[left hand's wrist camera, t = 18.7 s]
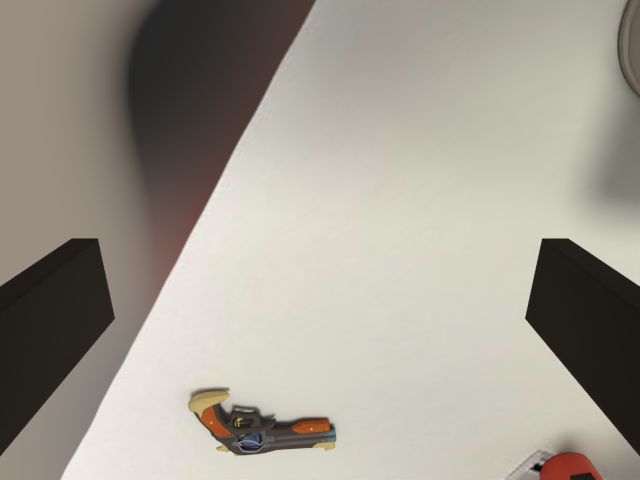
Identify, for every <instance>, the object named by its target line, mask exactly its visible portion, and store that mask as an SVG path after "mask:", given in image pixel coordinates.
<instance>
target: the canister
mask: <svg viewBox="0 0 640 480" xmlns="http://www.w3.org/2000/svg"><path fill="white" fill-rule="evenodd" d="M588 472H591V473H592V475H593V476H594V478H595V479H596V480H603V479H602V478H601V476H600V475H599V473H598V472H597V470H596V469H595V468H594V466H593V465H592V463H591V462H590V460H589V459H588V458H587V457H585V456H583V455H581V454H578V453H564V454H560V455H557V456H555V457H553V458H551V459H550V460H548V461H547V462H546V463H545V464H544V465H543V467H542V468H541V471H540V479H541V480H570V475H576V474H582V473H588Z"/></svg>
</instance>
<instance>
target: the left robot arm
mask: <svg viewBox="0 0 640 480" xmlns="http://www.w3.org/2000/svg"><path fill="white" fill-rule="evenodd" d="M619 56H620V62H621V66H622V70H623V73H624V75H625V77H626V79H627V81H628V83H629V84H630V86H631V87H632V89H633V90H634V91H635V92H636V93H637V94H638V95H639V96H640V0H630V1H629V3H628V6H627V8H626V11H625V14H624V17H623V20H622V25H621V29H620V36H619ZM114 319H115V317H114V312H113V307H112V303H111V298H110V293H109V289H108V284H107V279H106V275H105V270H104V265H103V261H102V256H101V251H100V246H99V242H98V239H70V240H69V241H67V242H66V243H64V244H63V245H62V246H60V247H58V248H57V249H55V250H54V251H53V252H51V253H50V254H48V255H46V256H45V257H43V258H42V259H41V260H39V261H38V262H36V263H35V264H33V265H32V266H30V267H29V268H27V269H26V270H24V271H23V272H21V273H20V274H18V275H17V276H15V277H14V278H12V279H11V280H9V281H8V282H6V283H5V284H3V285H2V286H0V456H1V455H2V454H3V452H4V451H5V450H6V449H7V447H8V446H9V445H10V444H11V443H12V442H13V440H14V439H15V438H16V437H17V436H18V434H19V433H20V432H21V431H22V429H23V428H24V427H25V426H26V425H27V424H28V422H29V421H30V420H31V419H32V417H33V416H34V415H35V414H36V413H37V412H38V410H39V409H40V408H41V407H42V405H43V404H44V403H45V402H46V401H47V399H48V398H49V397H50V396H51V395H52V393H53V392H54V391H55V390H56V389H57V387H58V386H59V385H60V384H61V383H62V381H63V380H64V379H65V378H66V377H67V375H68V374H69V373H70V372H71V371H72V369H73V368H74V367H75V366H76V365H77V363H78V362H79V361H80V360H81V359H82V357H83V356H84V355H85V354H86V353H87V351H88V350H89V349H90V348H91V347H92V345H93V344H94V343H95V342H96V341H97V339H98V338H99V337H100V336H101V335H102V333H103V332H104V331H105V330H106V329H107V327H108V326H109V325H110V324H111V323H112V321H113V320H114ZM525 319H526V320H527V321H528V323H529V324H530V325H531V326H532V327H533V329H534V330H535V331H536V332H537V333H538V335H539V336H540V337H541V338H542V339H543V341H544V342H545V343H546V344H547V345H548V347H549V348H550V349H551V350H552V351H553V353H554V354H555V355H556V356H557V357H558V359H559V360H560V361H561V362H562V363H563V365H564V366H565V367H566V368H567V369H568V371H569V372H570V373H571V374H572V375H573V377H574V378H575V379H576V380H577V381H578V383H579V384H580V385H581V386H582V387H583V389H584V390H585V391H586V392H587V393H588V395H589V396H590V397H591V398H592V399H593V401H594V402H595V403H596V404H597V406H598V407H599V408H600V409H601V410H602V412H603V413H604V414H605V415H606V416H607V418H608V419H609V420H610V421H611V422H612V424H613V425H614V426H615V427H616V428H617V430H618V431H619V432H620V433H621V434H622V436H623V437H624V438H625V439H626V440H627V442H628V443H629V444H630V445H631V446H632V448H633V449H634V450H635V451H636V452H637V454H638V455H639V456H640V286H638V285H637V284H635V283H634V282H632V281H631V280H629V279H628V278H626V277H625V276H623V275H622V274H620V273H619V272H617V271H616V270H614V269H613V268H611V267H610V266H608V265H607V264H605V263H604V262H602V261H601V260H599V259H598V258H596V257H595V256H594V255H592V254H591V253H589V252H588V251H586V250H585V249H583V248H582V247H580V246H579V245H577V244H576V243H574V242H573V241H571V240H570V239H542V242H541V246H540V251H539V256H538V261H537V265H536V270H535V275H534V279H533V284H532V289H531V293H530V298H529V303H528V307H527V312H526V317H525Z"/></svg>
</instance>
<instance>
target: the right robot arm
mask: <svg viewBox="0 0 640 480" xmlns="http://www.w3.org/2000/svg"><path fill="white" fill-rule="evenodd" d="M570 480H596V479H595V478H594V476H593V475H592V473H591V472H588V473H582V474H576V475H570Z"/></svg>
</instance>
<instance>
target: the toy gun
mask: <svg viewBox="0 0 640 480" xmlns="http://www.w3.org/2000/svg"><path fill="white" fill-rule="evenodd" d="M228 397H229V393H228V392H225V391H213V392H204V393H200V394H197V395H195V396H194V397H192V398H191V399H190V401H189V403H188V406H189V409H190V410H191V411H193V412H194V414H195V415H196V417H197V418H198V420H199V421H200V422H201V423H202V424H203V425H204V426H205V427H206V428H207V429H208V430H209V431H210V432H211V435H212V436H213V437H214V438H215V439H216V440H217V441H219V442H221V443H222V446H220V447H217V448H216V449H217V450H218V451H225V452H228V451H232V452H233V453H234V455H235V456H238V455H253V454H262V453H267V452H271V451H274V450H282V449H298V448H322V447H325V451H326V450H330V449H334V448H335V442H334V441H336V434H335V428H332V427H330V425H329V421H328V420H314V421H302V422H299V423H297V424H295V425H293V426H291V427H273V426H274V425H275V418H274V419H271V420H268V421H264V422H261V420H260V415H259V414H258V413H257V412H241V411H236V410H233V411H232V413H231V419H230V420H227V419H226V418H225V417H224V416H223V414H222V413H221V411H220V408H219V403H220V402H222V401H224V400H225V399H227V398H228ZM235 417H237V420H236V422H237V421H238V424H236V422H235V423H233V419H234V418H235ZM243 418H244V419H253V422H252V423H245V424H239V421H240V420H242V419H243ZM244 434H246V435H245V436H244V437H242V438H241V439H240V438H239V437H240V435H244ZM238 435H239V436H238ZM261 442H262V443H261ZM239 443H240V444H242V445H243V446H241V445H239Z"/></svg>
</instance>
